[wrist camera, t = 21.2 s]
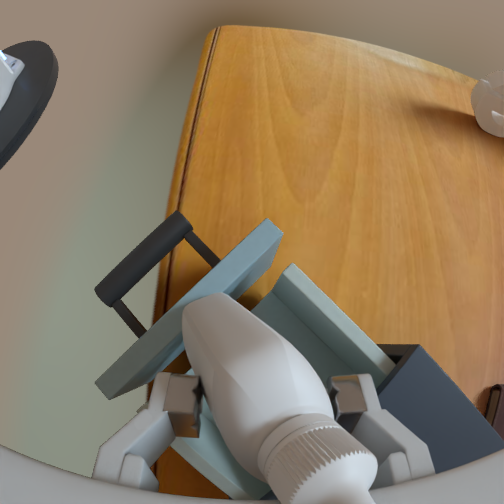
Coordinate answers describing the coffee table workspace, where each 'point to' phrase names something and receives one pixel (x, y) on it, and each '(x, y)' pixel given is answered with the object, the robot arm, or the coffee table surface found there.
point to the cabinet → (432, 410)
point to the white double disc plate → (490, 103)
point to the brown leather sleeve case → (496, 409)
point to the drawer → (268, 310)
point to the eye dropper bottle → (273, 407)
